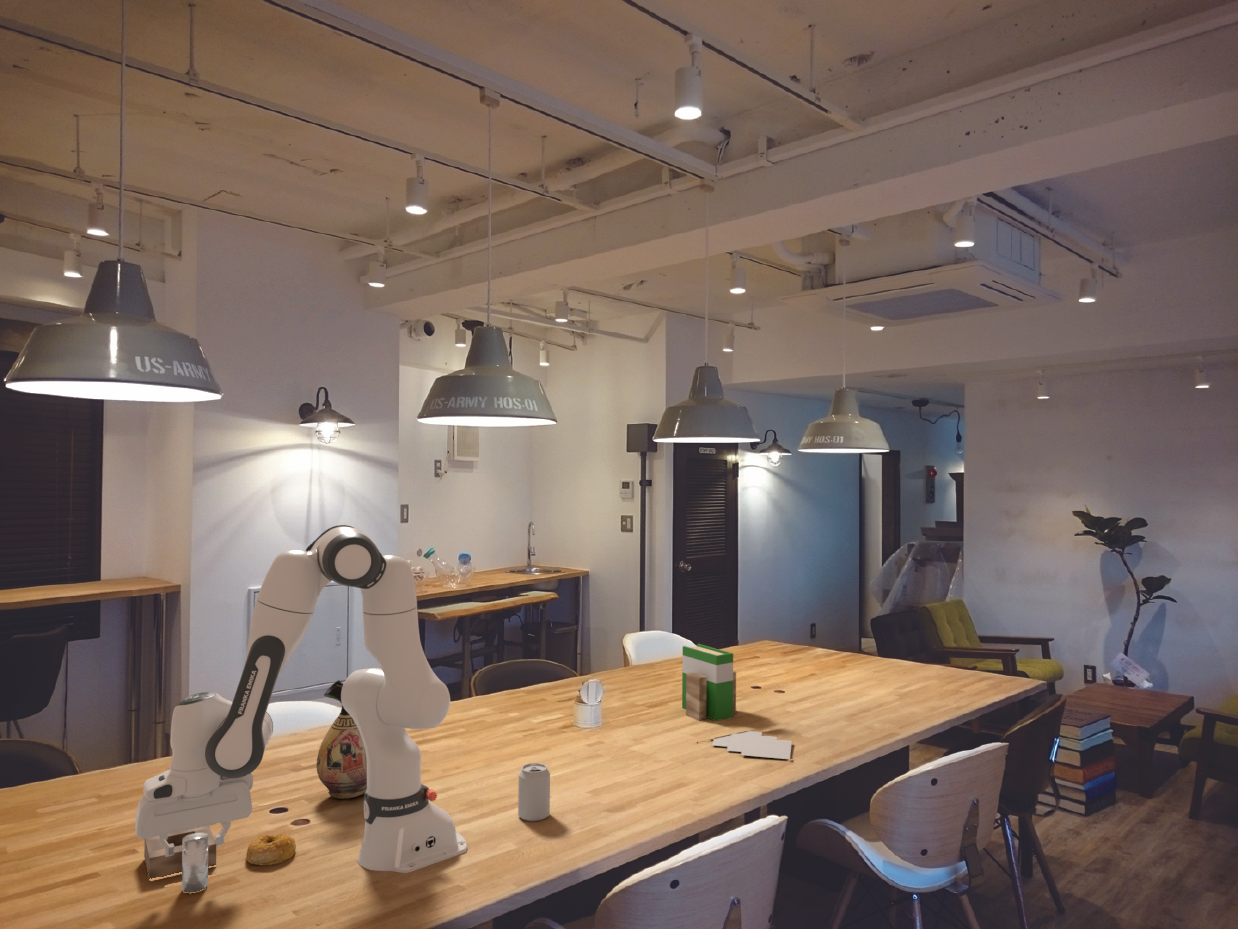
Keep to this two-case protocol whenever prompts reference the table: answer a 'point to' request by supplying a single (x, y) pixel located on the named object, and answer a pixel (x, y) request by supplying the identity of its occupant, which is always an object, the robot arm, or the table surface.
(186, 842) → the part
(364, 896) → the table surface
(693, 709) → the bookend near
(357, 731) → the ceramic jug
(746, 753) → the paper stack
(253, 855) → the bagel
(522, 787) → the can
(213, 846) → the pocket block
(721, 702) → the hardback book
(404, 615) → the robot arm
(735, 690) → the bookend far
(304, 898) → the table surface
